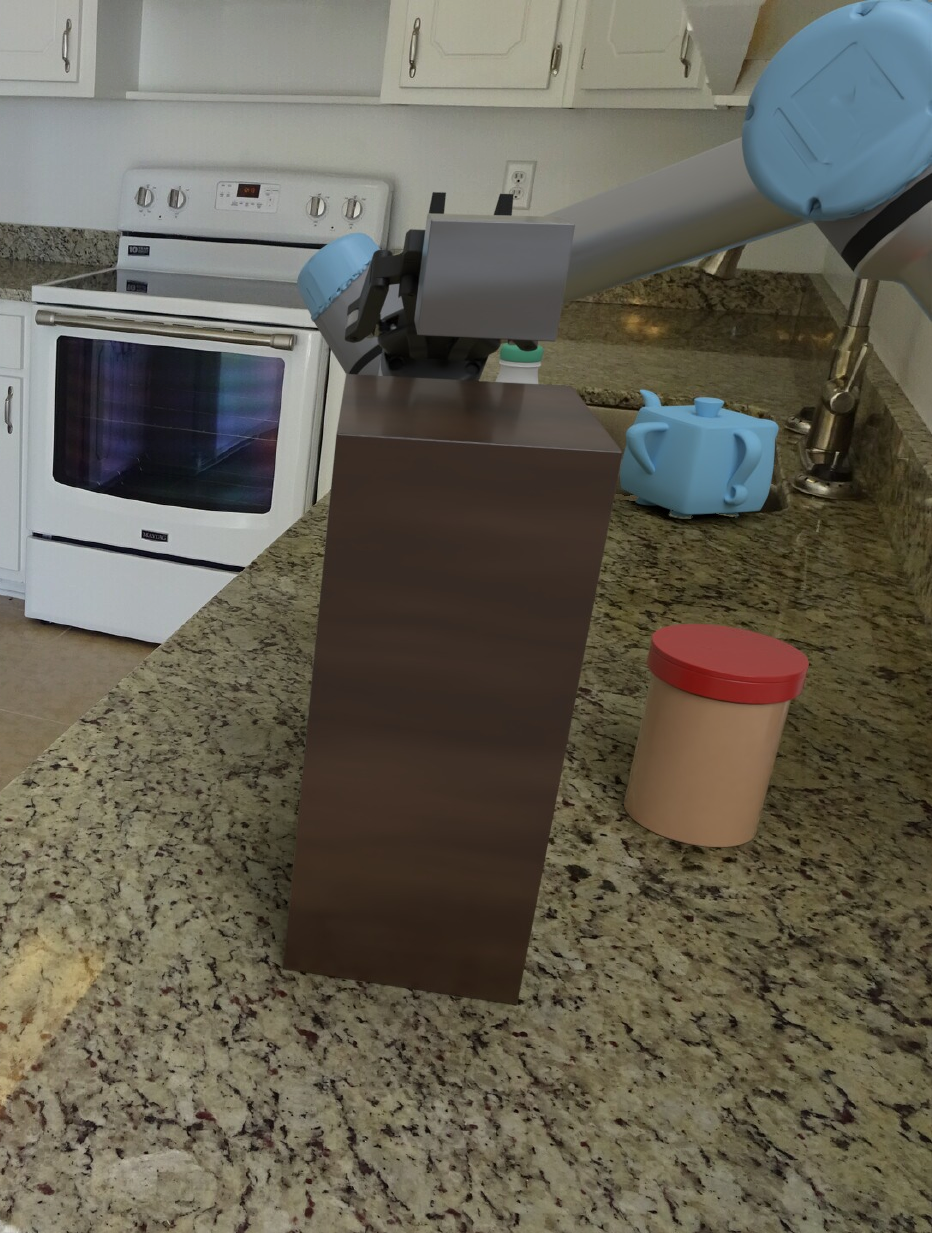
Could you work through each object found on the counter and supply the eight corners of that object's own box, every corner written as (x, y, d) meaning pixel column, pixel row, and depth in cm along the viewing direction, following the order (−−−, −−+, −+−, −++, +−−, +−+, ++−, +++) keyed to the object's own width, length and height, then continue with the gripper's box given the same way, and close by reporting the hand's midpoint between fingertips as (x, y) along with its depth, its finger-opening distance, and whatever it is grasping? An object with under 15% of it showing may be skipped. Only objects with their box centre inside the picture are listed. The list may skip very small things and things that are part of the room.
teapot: (776, 507, 154) (803, 398, 149) (745, 536, 142) (772, 418, 137) (623, 482, 164) (643, 379, 159) (582, 507, 153) (602, 397, 148)
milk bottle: (531, 527, 144) (559, 352, 137) (461, 520, 147) (486, 348, 139) (530, 510, 151) (557, 342, 143) (464, 504, 153) (487, 338, 146)
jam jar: (751, 801, 85) (792, 644, 80) (761, 858, 78) (806, 690, 73) (624, 777, 88) (656, 625, 83) (622, 830, 81) (657, 668, 76)
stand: (517, 1005, 64) (623, 451, 53) (282, 969, 67) (336, 433, 56) (492, 847, 79) (572, 385, 67) (300, 822, 81) (346, 373, 70)
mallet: (556, 342, 55) (575, 223, 53) (416, 335, 57) (431, 219, 55) (499, 277, 81) (511, 195, 80) (405, 273, 83) (414, 193, 81)
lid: (795, 662, 81) (802, 636, 80) (811, 715, 73) (818, 687, 73) (646, 640, 84) (651, 615, 83) (646, 688, 77) (652, 661, 76)
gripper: (538, 418, 92) (614, 282, 70) (318, 405, 96) (321, 272, 73) (547, 322, 93) (625, 156, 70) (328, 312, 97) (335, 151, 74)
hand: (470, 215), depth 72 cm, fingers closed on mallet, 3 cm apart
